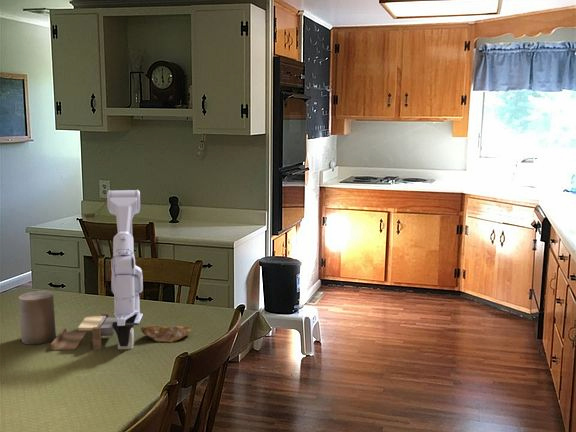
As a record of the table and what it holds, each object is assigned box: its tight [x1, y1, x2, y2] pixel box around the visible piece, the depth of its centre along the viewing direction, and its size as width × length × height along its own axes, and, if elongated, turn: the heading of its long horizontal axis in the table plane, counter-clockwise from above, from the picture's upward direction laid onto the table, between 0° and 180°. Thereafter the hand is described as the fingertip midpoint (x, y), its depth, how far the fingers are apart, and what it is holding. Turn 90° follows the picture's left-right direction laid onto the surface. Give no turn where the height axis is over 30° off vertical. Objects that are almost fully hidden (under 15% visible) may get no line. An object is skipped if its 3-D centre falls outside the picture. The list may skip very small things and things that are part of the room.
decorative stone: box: [140, 324, 192, 344], centre depth 192 cm, size 10×4×15 cm
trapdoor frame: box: [50, 312, 110, 351], centre depth 188 cm, size 15×14×6 cm
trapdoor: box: [77, 315, 117, 337], centre depth 188 cm, size 11×10×3 cm
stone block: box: [117, 327, 135, 350], centre depth 184 cm, size 4×4×5 cm
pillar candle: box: [18, 290, 57, 345], centre depth 188 cm, size 10×10×15 cm
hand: (125, 341), depth 184 cm, fingers open, 6 cm apart
